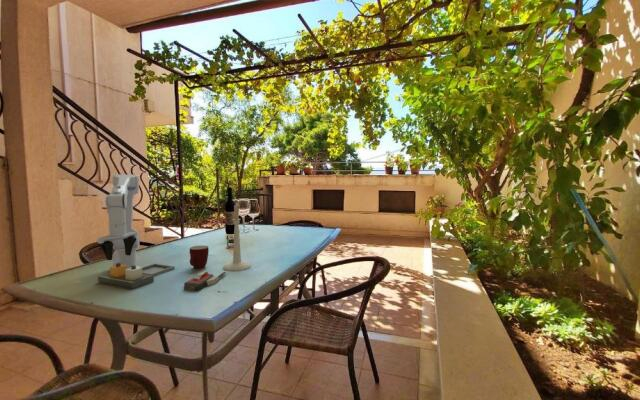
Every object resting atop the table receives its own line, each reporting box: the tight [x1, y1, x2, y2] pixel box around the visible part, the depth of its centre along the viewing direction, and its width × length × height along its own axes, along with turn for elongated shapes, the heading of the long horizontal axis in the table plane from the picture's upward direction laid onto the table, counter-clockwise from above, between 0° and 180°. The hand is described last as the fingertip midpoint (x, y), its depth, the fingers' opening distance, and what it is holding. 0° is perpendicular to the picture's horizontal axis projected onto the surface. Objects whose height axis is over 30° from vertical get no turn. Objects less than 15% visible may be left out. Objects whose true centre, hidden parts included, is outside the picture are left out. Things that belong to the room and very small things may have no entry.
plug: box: [109, 263, 127, 277], centre depth 120 cm, size 4×4×7 cm
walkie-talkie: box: [183, 271, 227, 291], centre depth 121 cm, size 9×4×20 cm
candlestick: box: [222, 204, 252, 272], centre depth 141 cm, size 13×13×30 cm
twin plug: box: [125, 265, 142, 280], centre depth 117 cm, size 4×4×7 cm
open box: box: [97, 272, 155, 290], centre depth 119 cm, size 19×9×3 cm, turn 69°
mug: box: [189, 245, 210, 270], centre depth 137 cm, size 11×8×10 cm
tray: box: [141, 263, 176, 277], centre depth 133 cm, size 12×12×2 cm
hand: (119, 257), depth 120 cm, fingers open, 7 cm apart
